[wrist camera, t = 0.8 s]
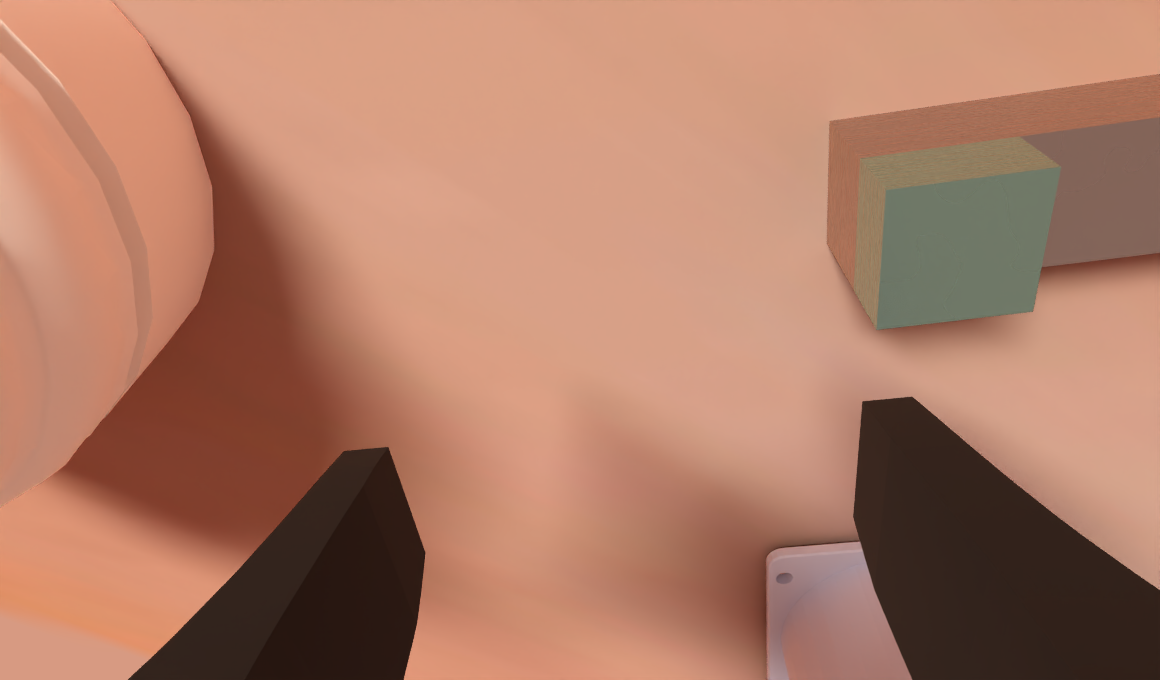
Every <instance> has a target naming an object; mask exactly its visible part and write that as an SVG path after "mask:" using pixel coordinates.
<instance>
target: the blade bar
mask: <svg viewBox="0 0 1160 680" xmlns="http://www.w3.org/2000/svg"><path fill="white" fill-rule="evenodd" d="M827 244H828V246H829V248H830V249H831V251H832V253H833V255H834V256H835V258H836V260H837V262H838V263H839V265H840V267H841V269H842V270H843V272H844V274H845V276H846V277H847V279H848V281H849V283H850V284H851V286H852V288H853V290H854V292H855V293H856V295H857V297H858V299H859V300H860V302H861V304H862V306H863V307H864V309H865V311H866V313H867V314H868V316H869V318H870V320H871V321H872V323H873V325H874V327H875V328H876V330H881V329H889V328H898V327H906V326H915V325H923V324H932V323H940V322H949V321H957V320H966V319H974V318H983V317H991V316H1000V315H1008V314H1017V313H1026V312H1033V309H1034V304H1035V299H1036V294H1037V288H1038V283H1039V278H1040V273H1041V268H1042V267H1049V266H1057V265H1065V264H1073V263H1081V262H1090V261H1098V260H1106V259H1114V258H1122V257H1130V256H1139V255H1147V254H1155V253H1160V74H1157V75H1150V76H1143V77H1136V78H1129V79H1122V80H1115V81H1108V82H1101V83H1094V84H1087V85H1080V86H1073V87H1066V88H1059V89H1052V90H1045V91H1038V92H1031V93H1024V94H1017V95H1010V96H1003V97H996V98H989V99H982V100H975V101H968V102H961V103H953V104H946V105H939V106H932V107H925V108H918V109H911V110H904V111H897V112H890V113H883V114H876V115H869V116H862V117H855V118H848V119H841V120H834V121H830V125H829V168H828V211H827Z"/></svg>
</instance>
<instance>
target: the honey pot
mask: <svg viewBox="0 0 1160 680" xmlns="http://www.w3.org/2000/svg"><path fill="white" fill-rule="evenodd" d="M213 253H214V226H213V196H212V185H211V181H210V178H209V175H208V172H207V169H206V165H205V162H204V159H203V156H202V153H201V149H200V146H199V143H198V140H197V137H196V134H195V130H194V127H193V124H192V121H191V118H190V115H189V113H188V111H187V110H186V108H185V106H184V105H183V103H182V101H181V99H180V98H179V96H178V94H177V93H176V91H175V89H174V87H173V86H172V84H171V82H170V81H169V79H168V77H167V75H166V74H165V72H164V70H163V69H162V67H161V65H160V63H159V62H158V60H157V58H156V57H155V55H154V53H153V51H152V50H151V48H150V46H149V45H148V43H147V41H146V40H145V39H144V37H143V36H142V35H141V34H140V33H139V32H138V31H137V29H136V28H135V27H134V26H133V25H132V24H131V23H130V22H129V20H128V19H127V18H126V17H125V16H124V15H123V14H122V13H121V11H120V10H119V9H118V8H117V7H116V6H115V5H114V3H113V2H112V1H111V0H0V507H2V506H4V505H5V504H7V503H9V502H10V501H12V500H14V499H15V498H17V497H19V496H20V495H22V494H24V493H25V492H27V491H29V490H30V489H32V488H34V487H35V486H37V485H39V484H40V483H42V482H43V481H45V480H46V479H47V478H49V477H50V476H51V475H53V474H54V473H55V472H57V471H58V470H59V469H61V468H62V467H63V466H65V465H66V464H67V462H68V461H69V460H70V458H71V457H72V456H73V454H74V453H75V452H76V451H77V449H78V448H79V447H80V445H81V444H82V443H83V441H84V440H85V439H86V438H87V437H89V436H90V435H91V434H92V432H93V431H94V430H95V428H96V427H97V426H98V424H99V423H100V422H101V420H102V419H103V418H105V417H106V416H107V415H108V414H109V412H110V411H111V410H112V409H113V408H114V406H115V405H116V404H117V403H118V402H119V400H120V399H121V398H122V397H123V396H124V394H125V393H126V392H127V391H128V390H129V388H130V387H131V386H132V385H133V384H134V382H135V381H136V380H137V379H138V378H139V376H140V375H141V374H142V373H143V372H144V370H145V369H146V368H147V367H148V366H149V364H150V363H151V362H152V361H153V360H154V358H155V357H156V356H157V355H158V354H159V352H160V351H161V350H162V349H163V348H164V346H165V345H166V344H167V343H168V342H169V340H170V339H171V338H172V336H173V335H174V334H175V332H176V331H177V330H178V328H179V327H180V326H181V324H182V323H183V322H184V321H185V319H186V318H187V317H188V315H189V314H190V313H191V311H192V310H193V309H194V307H195V306H196V305H197V303H198V302H199V299H200V296H201V293H202V289H203V286H204V283H205V279H206V276H207V273H208V269H209V266H210V263H211V259H212V256H213Z"/></svg>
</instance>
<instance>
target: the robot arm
mask: <svg viewBox="0 0 1160 680" xmlns="http://www.w3.org/2000/svg"><path fill="white" fill-rule="evenodd" d="M853 518H854V521H855V525H856V528H857V532H858V536H859V539H860V542H848V543H836V544H823V545H811V546H799V547H787V548H779V549H776V550H774V551H772V552H771V553H770V554H769V555H768V556H767V559H766V616H767V680H1160V590H1159V589H1157V588H1156V587H1154V586H1153V585H1151V584H1150V583H1148V582H1147V581H1145V580H1144V579H1143V578H1141V577H1140V576H1138V575H1137V574H1135V573H1134V572H1133V571H1131V570H1130V569H1128V568H1127V567H1126V566H1124V565H1123V564H1121V563H1120V562H1119V561H1117V560H1116V559H1114V558H1113V557H1112V556H1110V555H1109V554H1107V553H1106V552H1105V551H1103V550H1102V549H1100V548H1099V547H1098V546H1096V545H1095V544H1093V543H1092V542H1091V541H1089V540H1088V539H1086V538H1085V537H1084V536H1082V535H1081V534H1080V533H1078V532H1077V531H1076V530H1074V529H1073V528H1072V527H1070V526H1069V525H1068V524H1066V523H1065V522H1064V521H1062V520H1061V519H1060V518H1058V517H1057V516H1056V515H1055V514H1053V513H1052V512H1051V511H1049V510H1048V509H1047V508H1046V507H1044V506H1043V505H1042V504H1041V503H1039V502H1038V501H1037V500H1036V499H1034V498H1033V497H1032V496H1030V495H1029V494H1028V493H1027V492H1025V491H1024V490H1023V489H1022V488H1020V487H1019V486H1018V485H1017V484H1015V483H1014V482H1013V481H1012V480H1010V479H1009V478H1008V477H1007V476H1006V475H1004V474H1003V473H1002V472H1001V471H999V470H998V469H997V468H996V467H995V466H993V465H992V464H991V463H990V462H989V461H988V460H986V459H985V458H984V457H983V456H982V455H980V454H979V453H978V452H977V451H976V450H974V449H973V448H972V447H971V446H970V445H969V444H967V443H966V442H965V441H964V440H963V439H961V438H960V437H959V436H958V435H957V434H956V433H954V432H953V431H952V430H951V429H950V428H949V427H947V426H946V425H945V424H944V423H943V422H942V421H940V420H939V419H938V418H937V417H936V416H934V415H933V414H932V413H931V412H930V411H929V410H927V409H926V408H925V407H924V406H923V405H921V404H920V403H919V402H918V401H917V400H915V399H914V398H913V397H905V398H894V399H884V400H873V401H863V402H862V415H861V427H860V440H859V452H858V465H857V477H856V489H855V502H854V514H853ZM424 560H425V550H424V548H423V545H422V542H421V539H420V536H419V533H418V531H417V528H416V525H415V522H414V519H413V516H412V513H411V511H410V508H409V505H408V502H407V499H406V496H405V493H404V491H403V488H402V485H401V482H400V479H399V476H398V474H397V471H396V468H395V465H394V462H393V459H392V456H391V454H390V451H389V448H388V447H383V448H373V449H362V450H352V451H344V452H343V453H342V454H341V455H340V456H339V457H338V458H337V460H336V461H335V462H334V463H333V464H332V465H331V466H330V467H329V468H328V469H327V471H326V472H325V473H324V474H323V475H322V476H321V477H320V479H319V480H318V481H317V482H316V483H315V484H314V485H313V487H312V488H311V489H310V490H309V491H308V492H307V493H306V495H305V496H304V497H303V498H302V499H301V500H300V501H299V503H298V504H297V505H296V506H295V507H294V508H293V509H292V511H291V512H290V513H289V514H288V515H287V516H286V517H285V519H284V520H283V521H282V522H281V523H280V524H279V525H278V526H277V528H276V529H275V530H274V531H273V532H272V533H271V534H270V535H269V536H268V538H267V539H266V540H265V541H264V542H263V543H262V544H261V545H260V546H259V548H258V549H257V550H256V551H255V552H254V553H253V554H252V555H251V556H250V558H249V559H248V560H247V561H246V562H245V563H244V564H243V565H242V566H241V568H240V569H239V570H238V571H237V572H236V573H235V574H234V575H233V576H232V577H231V578H230V579H229V580H228V581H227V582H226V583H225V584H224V585H223V586H222V587H221V588H220V589H219V590H218V591H217V592H216V593H215V594H214V595H213V596H212V598H211V599H210V600H209V601H208V602H207V603H206V604H205V605H204V606H203V607H202V608H201V609H200V610H199V611H198V612H197V613H196V614H195V615H194V616H193V617H192V618H191V619H190V620H189V621H188V622H187V623H186V624H185V625H184V626H183V627H182V628H181V629H180V630H179V631H178V632H177V633H176V634H175V635H174V636H173V637H172V638H171V639H170V640H169V641H168V642H167V643H166V644H165V645H164V646H163V647H162V648H161V649H160V650H159V651H158V652H157V653H156V654H155V655H154V656H153V657H152V658H151V659H149V660H148V661H147V662H146V663H145V664H144V665H143V666H142V667H141V668H140V669H139V670H138V671H137V672H135V673H134V674H133V675H132V676H131V677H130V678H129V679H128V680H404V676H405V671H406V667H407V663H408V659H409V655H410V651H411V647H412V643H413V639H414V634H415V630H416V626H417V619H418V612H419V604H420V597H421V588H422V579H423V570H424ZM781 573H784V574H781Z"/></svg>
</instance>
